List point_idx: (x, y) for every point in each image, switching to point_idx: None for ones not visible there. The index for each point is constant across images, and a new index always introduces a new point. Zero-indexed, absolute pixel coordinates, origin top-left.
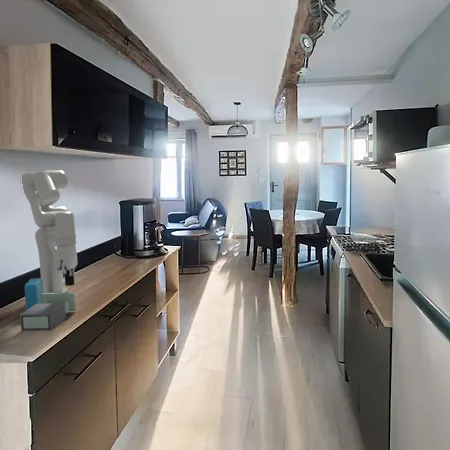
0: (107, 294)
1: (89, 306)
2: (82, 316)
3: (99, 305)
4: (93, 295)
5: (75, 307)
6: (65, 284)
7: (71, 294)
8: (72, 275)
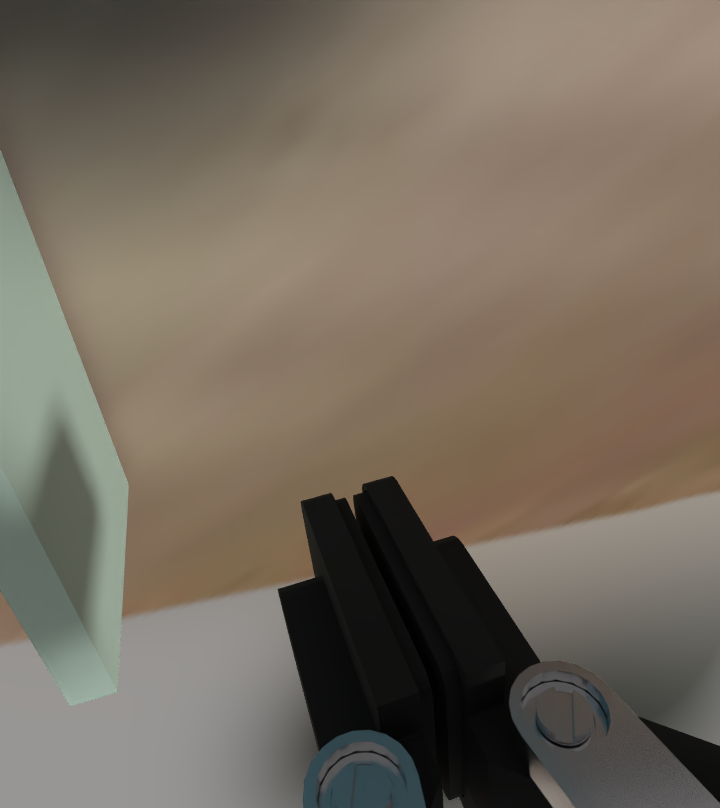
0: (689, 447)
1: None
2: (12, 619)
3: None
4: (692, 327)
5: (126, 510)
6: (304, 517)
7: (59, 667)
8: (471, 803)
